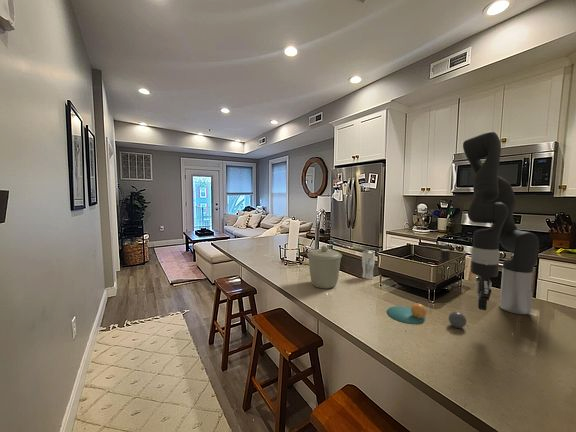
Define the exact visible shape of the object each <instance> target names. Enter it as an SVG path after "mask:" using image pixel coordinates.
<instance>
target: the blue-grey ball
mask: <svg viewBox="0 0 576 432" xmlns="http://www.w3.org/2000/svg"><path fill="white" fill-rule="evenodd" d="M448 321H449V323H450V324H451V326H453V327H454V328H456V329H457V328H458V329H461V328H464V327H465V326H466V325H467V318H466V316H465V315H464V314H463V313H462V312H460V311H452V312H451V313H449V315H448Z"/></svg>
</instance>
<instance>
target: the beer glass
mask: <svg viewBox="0 0 576 432" xmlns="http://www.w3.org/2000/svg"><path fill="white" fill-rule="evenodd" d="M361 254H362V255H361V265H362V271H363V272H362V275H361V278H362V279H364V280H373V279H374V268H375V262H376V255H375V254H376V253H375V251H373V250H362V253H361Z"/></svg>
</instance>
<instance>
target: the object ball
mask: <svg viewBox="0 0 576 432" xmlns="http://www.w3.org/2000/svg"><path fill="white" fill-rule="evenodd" d="M410 308H411V313H412V315H413V316H414V317H416V318H423V317H425V318H426V315H427V309H426V307H425V306H424V305H423V304H421V303H414V304H412V305H411V307H410Z"/></svg>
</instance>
